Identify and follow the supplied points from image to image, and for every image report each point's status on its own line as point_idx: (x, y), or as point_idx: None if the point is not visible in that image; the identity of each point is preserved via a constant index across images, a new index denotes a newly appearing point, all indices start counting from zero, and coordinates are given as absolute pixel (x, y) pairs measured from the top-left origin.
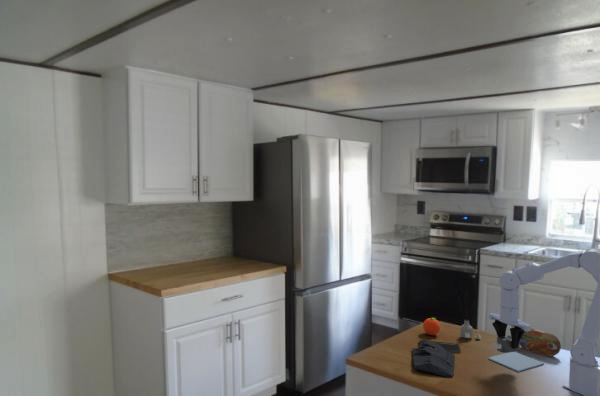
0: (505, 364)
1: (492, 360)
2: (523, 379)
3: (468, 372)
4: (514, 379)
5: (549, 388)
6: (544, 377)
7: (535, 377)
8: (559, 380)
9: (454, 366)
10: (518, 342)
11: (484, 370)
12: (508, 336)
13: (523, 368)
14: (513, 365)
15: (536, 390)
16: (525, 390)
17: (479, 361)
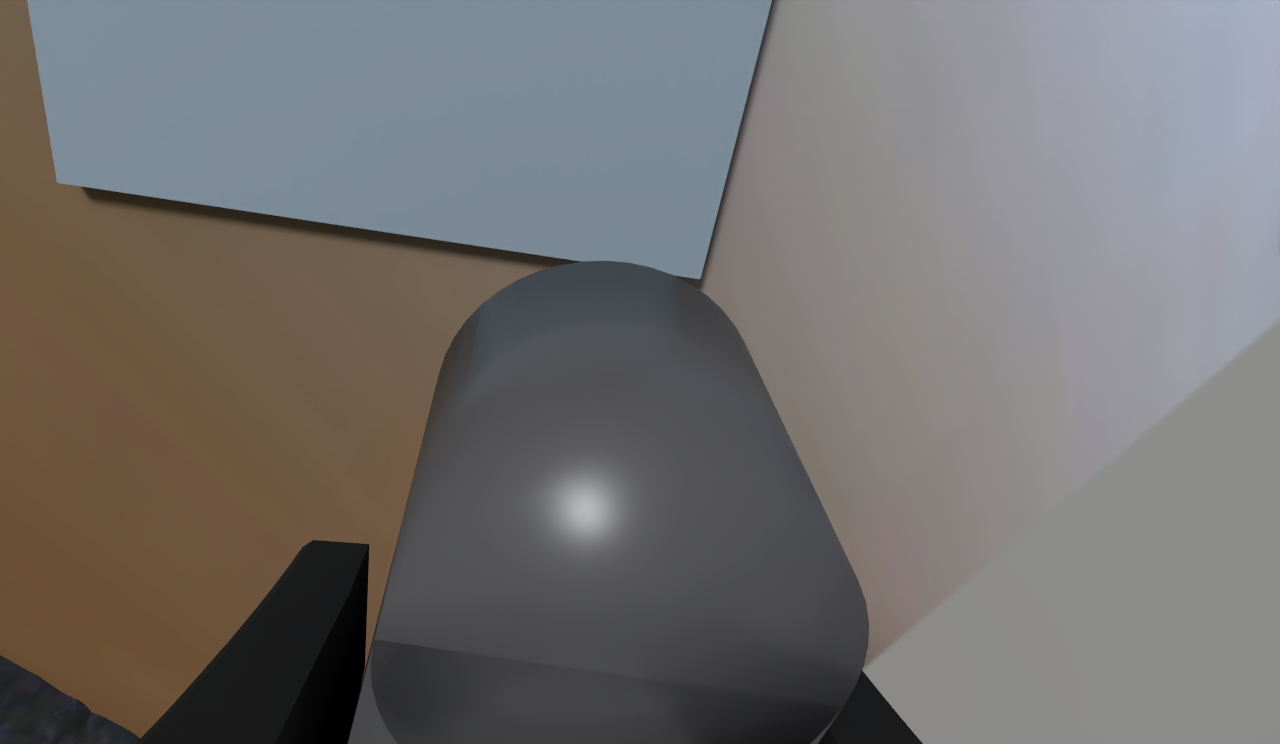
0: (443, 215)
1: (177, 194)
2: (831, 420)
3: None
4: None
5: (1131, 397)
6: (1048, 116)
7: (938, 233)
8: (1259, 26)
9: (132, 736)
10: (864, 709)
11: (388, 569)
12: (446, 726)
13: (723, 118)
14: (551, 140)
15: (1013, 542)
16: (923, 617)
17: (110, 388)
